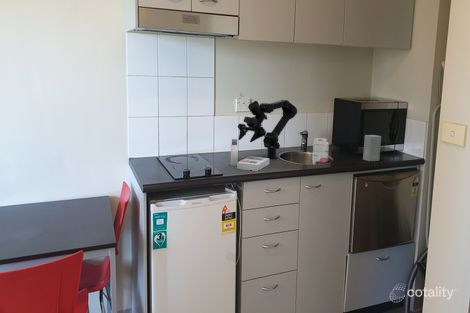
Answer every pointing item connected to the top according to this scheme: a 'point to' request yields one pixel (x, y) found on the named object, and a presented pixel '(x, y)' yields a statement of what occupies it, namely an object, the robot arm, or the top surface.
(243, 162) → the socket block
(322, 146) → the ink cartridge box
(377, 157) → the skincare box
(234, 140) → the white bottle
